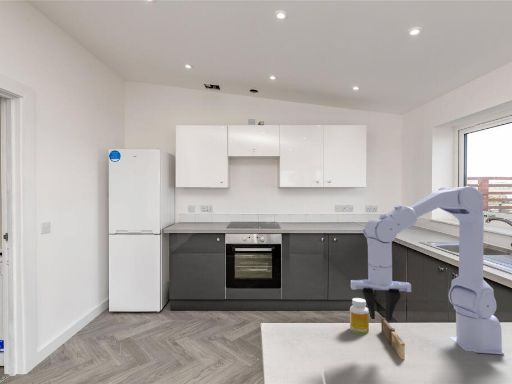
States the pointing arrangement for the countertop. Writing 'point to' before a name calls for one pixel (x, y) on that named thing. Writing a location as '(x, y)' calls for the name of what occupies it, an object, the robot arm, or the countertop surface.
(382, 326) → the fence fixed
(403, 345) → the wooden flat block
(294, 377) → the countertop surface
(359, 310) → the supplement bottle
